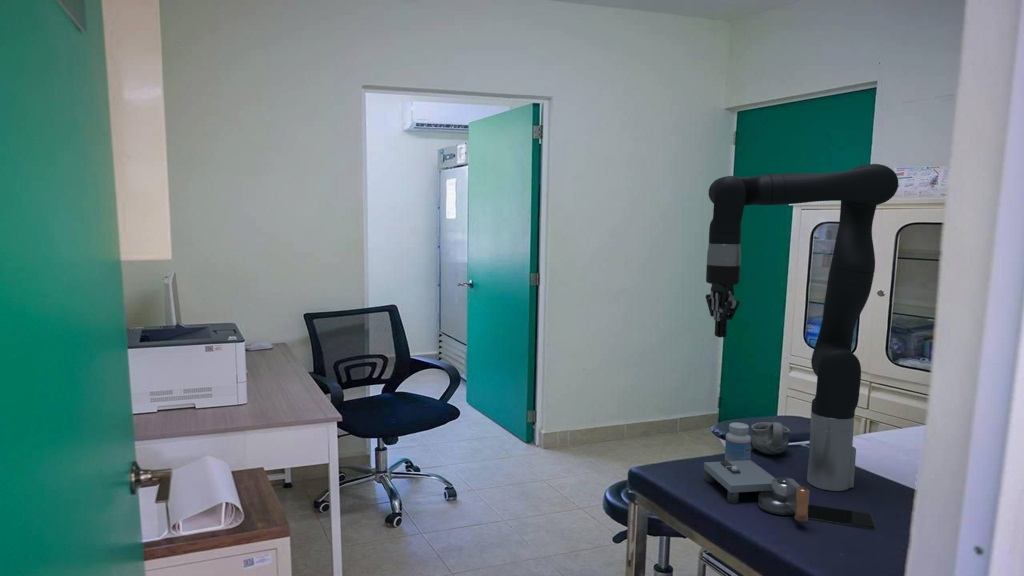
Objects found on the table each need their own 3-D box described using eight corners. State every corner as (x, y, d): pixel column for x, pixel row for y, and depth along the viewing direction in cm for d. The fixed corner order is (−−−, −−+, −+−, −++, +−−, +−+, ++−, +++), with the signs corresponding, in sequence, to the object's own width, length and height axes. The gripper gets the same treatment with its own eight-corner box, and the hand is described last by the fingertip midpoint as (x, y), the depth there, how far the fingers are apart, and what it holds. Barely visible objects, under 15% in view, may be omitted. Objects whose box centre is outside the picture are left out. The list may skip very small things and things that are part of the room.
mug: (779, 446, 186) (781, 411, 185) (800, 463, 174) (803, 425, 172) (744, 446, 185) (746, 411, 184) (764, 463, 173) (766, 425, 172)
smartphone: (796, 519, 142) (875, 532, 137) (796, 516, 142) (876, 528, 137) (795, 505, 149) (871, 516, 144) (795, 502, 149) (871, 513, 144)
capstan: (752, 498, 151) (754, 464, 150) (788, 499, 151) (790, 465, 150) (777, 528, 137) (779, 491, 136) (817, 528, 137) (819, 491, 136)
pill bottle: (751, 474, 166) (753, 429, 165) (725, 471, 167) (727, 428, 166) (748, 465, 172) (750, 422, 171) (723, 463, 173) (725, 420, 172)
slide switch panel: (749, 476, 164) (750, 454, 164) (780, 501, 150) (782, 476, 150) (703, 479, 162) (704, 456, 162) (730, 504, 149) (731, 479, 148)
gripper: (752, 265, 151) (749, 341, 152) (725, 261, 164) (722, 331, 165) (721, 265, 149) (717, 342, 151) (696, 261, 162) (693, 332, 164)
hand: (720, 336), depth 158 cm, fingers closed
